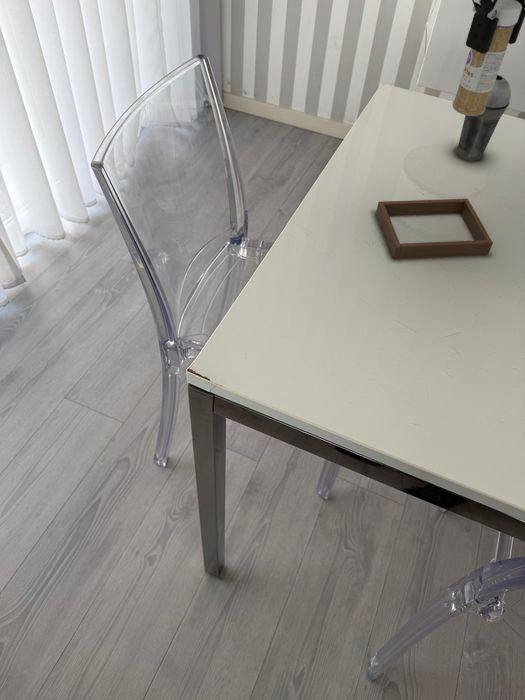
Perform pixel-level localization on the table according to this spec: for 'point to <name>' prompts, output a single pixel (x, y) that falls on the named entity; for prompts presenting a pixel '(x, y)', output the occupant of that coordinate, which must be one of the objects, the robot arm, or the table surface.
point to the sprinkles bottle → (486, 64)
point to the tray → (433, 248)
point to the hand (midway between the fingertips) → (490, 43)
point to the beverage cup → (484, 122)
